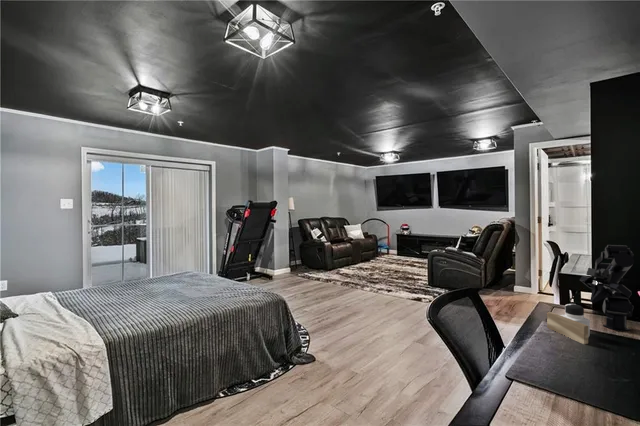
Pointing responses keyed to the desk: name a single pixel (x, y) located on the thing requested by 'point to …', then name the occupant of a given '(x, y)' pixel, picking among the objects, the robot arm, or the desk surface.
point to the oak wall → (568, 327)
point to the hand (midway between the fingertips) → (591, 302)
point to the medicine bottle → (576, 314)
